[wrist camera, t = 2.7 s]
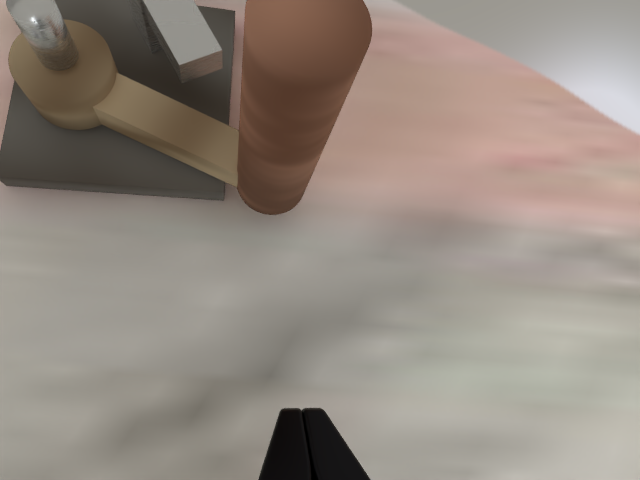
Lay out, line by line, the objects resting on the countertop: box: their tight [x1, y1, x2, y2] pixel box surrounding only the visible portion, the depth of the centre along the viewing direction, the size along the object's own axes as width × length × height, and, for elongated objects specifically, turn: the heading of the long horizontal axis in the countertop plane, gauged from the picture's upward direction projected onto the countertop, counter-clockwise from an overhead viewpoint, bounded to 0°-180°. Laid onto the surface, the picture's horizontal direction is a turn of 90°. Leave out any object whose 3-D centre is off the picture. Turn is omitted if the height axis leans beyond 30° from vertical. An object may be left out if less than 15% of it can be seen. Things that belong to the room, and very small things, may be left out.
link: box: [8, 0, 372, 215], centre depth 15 cm, size 12×4×10 cm, turn 67°
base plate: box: [0, 0, 235, 200], centre depth 21 cm, size 10×9×1 cm
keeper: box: [6, 0, 223, 83], centre depth 19 cm, size 6×7×6 cm
